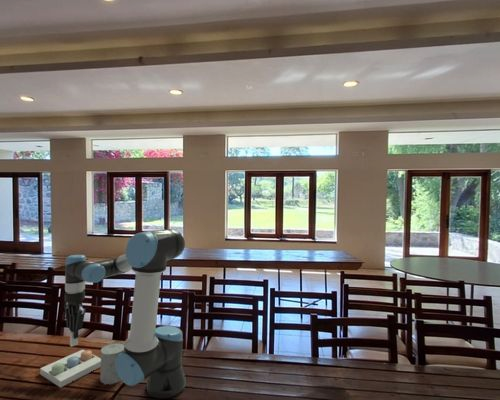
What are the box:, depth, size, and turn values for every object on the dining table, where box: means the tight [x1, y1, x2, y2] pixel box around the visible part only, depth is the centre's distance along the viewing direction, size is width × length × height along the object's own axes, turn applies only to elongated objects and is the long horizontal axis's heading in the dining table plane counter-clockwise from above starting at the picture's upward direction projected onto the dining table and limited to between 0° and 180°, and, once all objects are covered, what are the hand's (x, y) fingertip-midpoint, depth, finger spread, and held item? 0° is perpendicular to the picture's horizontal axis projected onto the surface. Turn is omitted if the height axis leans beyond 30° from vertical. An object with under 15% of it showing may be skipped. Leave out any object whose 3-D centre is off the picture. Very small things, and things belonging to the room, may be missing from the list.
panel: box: [39, 349, 101, 388], centre depth 126 cm, size 16×18×2 cm
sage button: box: [52, 363, 64, 376], centre depth 121 cm, size 4×4×4 cm
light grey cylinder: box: [99, 342, 125, 385], centre depth 122 cm, size 10×10×12 cm
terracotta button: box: [81, 349, 93, 362], centre depth 131 cm, size 4×4×4 cm
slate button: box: [67, 356, 79, 369], centre depth 126 cm, size 4×4×4 cm
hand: (74, 344), depth 126 cm, fingers closed
